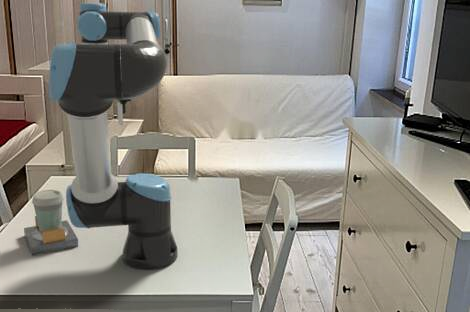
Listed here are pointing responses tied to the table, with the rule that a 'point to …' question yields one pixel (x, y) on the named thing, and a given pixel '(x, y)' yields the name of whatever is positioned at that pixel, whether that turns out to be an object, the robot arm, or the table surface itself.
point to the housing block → (50, 238)
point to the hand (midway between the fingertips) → (99, 126)
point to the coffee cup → (48, 209)
